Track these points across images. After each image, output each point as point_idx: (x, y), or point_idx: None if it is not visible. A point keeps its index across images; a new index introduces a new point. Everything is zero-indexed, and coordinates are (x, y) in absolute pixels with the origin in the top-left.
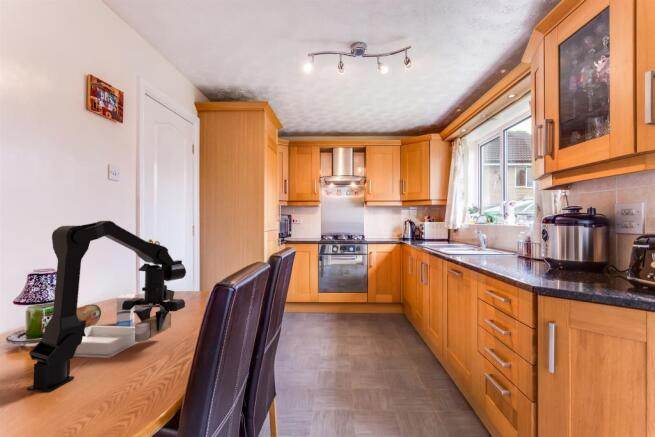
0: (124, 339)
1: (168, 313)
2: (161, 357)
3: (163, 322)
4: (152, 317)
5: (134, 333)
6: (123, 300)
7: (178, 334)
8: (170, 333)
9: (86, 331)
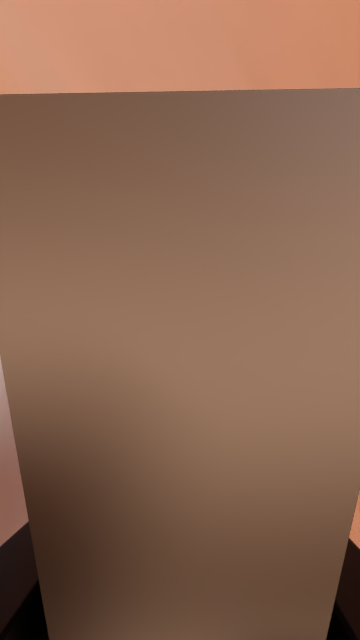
0: (3, 507)
1: (352, 212)
2: (355, 535)
3: (351, 545)
4: (95, 630)
5: None
6: None
7: (269, 69)
8: (161, 45)
9: None
